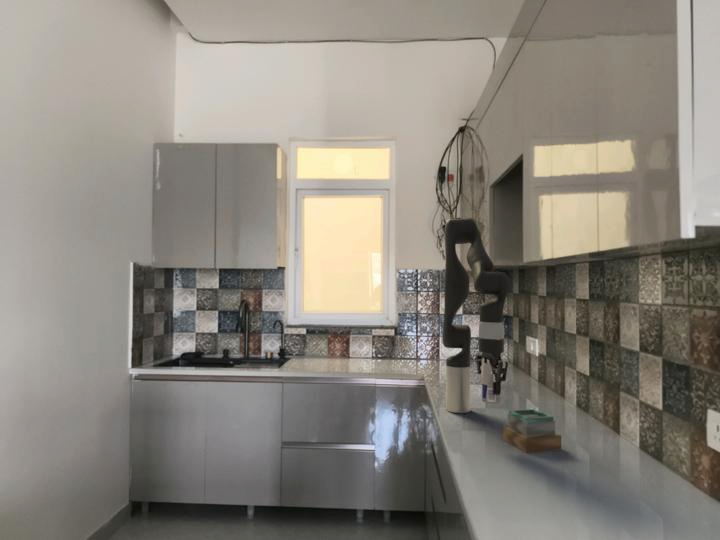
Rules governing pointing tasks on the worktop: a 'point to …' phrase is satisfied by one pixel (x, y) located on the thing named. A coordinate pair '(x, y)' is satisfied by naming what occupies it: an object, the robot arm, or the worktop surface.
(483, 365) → the energy drink
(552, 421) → the square stepped box
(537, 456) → the worktop surface
